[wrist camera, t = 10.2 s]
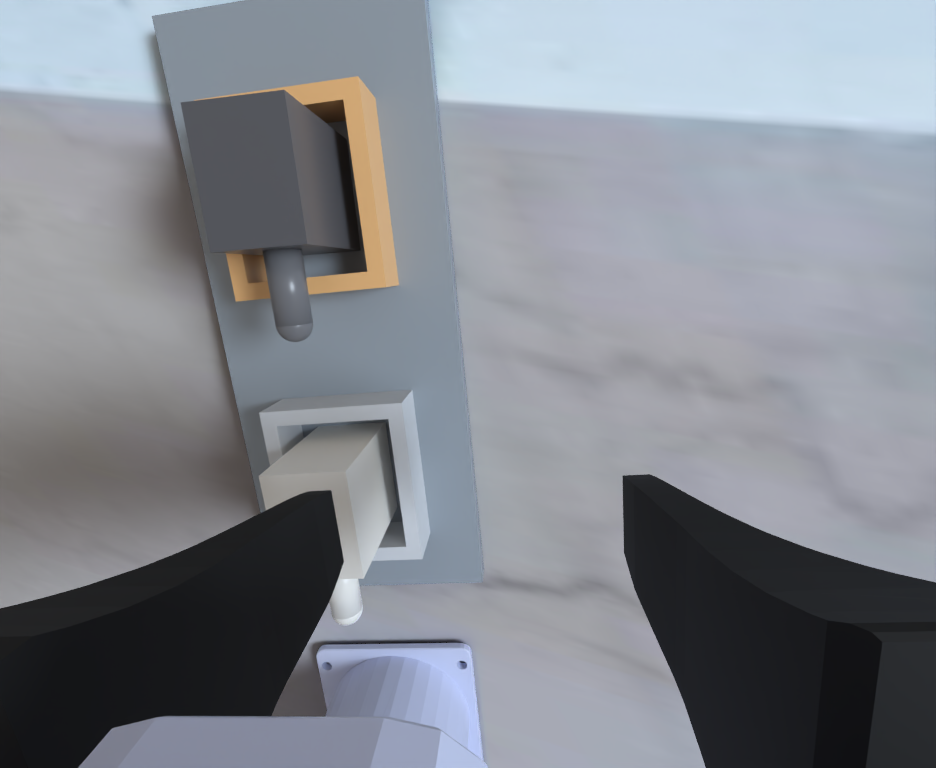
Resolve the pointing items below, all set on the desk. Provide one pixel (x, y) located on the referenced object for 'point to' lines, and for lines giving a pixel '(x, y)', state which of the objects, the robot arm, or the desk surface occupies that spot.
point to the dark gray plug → (273, 191)
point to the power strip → (349, 289)
